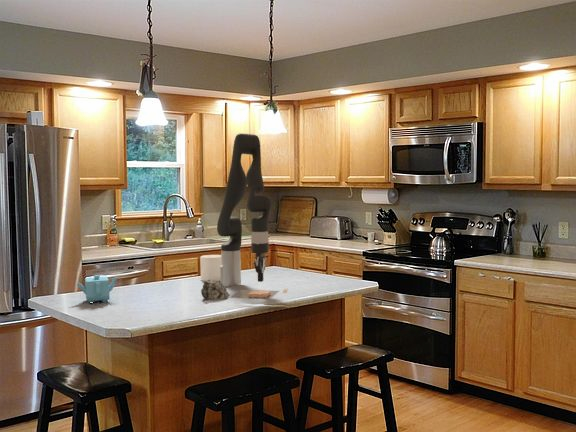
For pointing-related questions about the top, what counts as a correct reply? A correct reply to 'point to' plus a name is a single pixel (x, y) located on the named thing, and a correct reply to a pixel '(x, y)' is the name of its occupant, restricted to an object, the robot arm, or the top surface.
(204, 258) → the cup
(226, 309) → the top surface
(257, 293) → the tile
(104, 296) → the teapot
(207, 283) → the rock
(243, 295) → the board
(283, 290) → the turner
